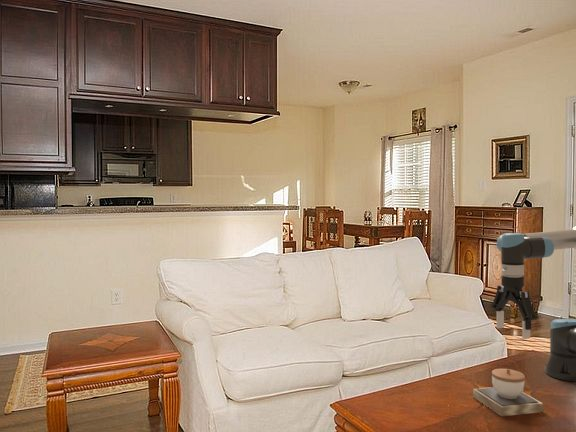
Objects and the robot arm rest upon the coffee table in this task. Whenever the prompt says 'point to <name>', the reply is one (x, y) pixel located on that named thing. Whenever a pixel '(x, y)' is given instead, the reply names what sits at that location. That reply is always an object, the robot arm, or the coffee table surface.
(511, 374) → the lidded jar
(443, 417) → the coffee table surface
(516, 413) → the stand
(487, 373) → the coffee table surface
